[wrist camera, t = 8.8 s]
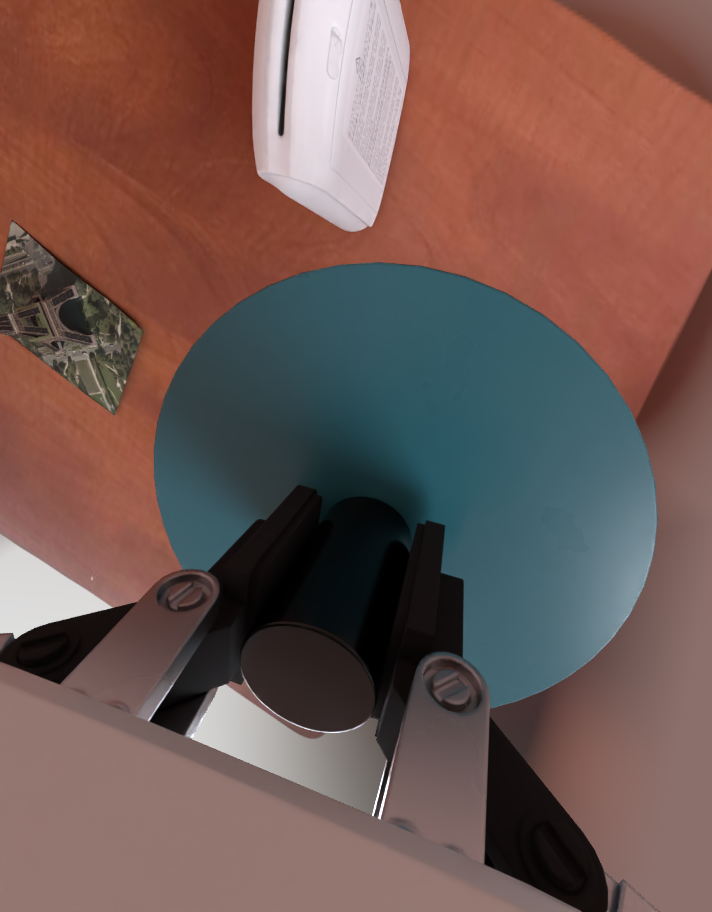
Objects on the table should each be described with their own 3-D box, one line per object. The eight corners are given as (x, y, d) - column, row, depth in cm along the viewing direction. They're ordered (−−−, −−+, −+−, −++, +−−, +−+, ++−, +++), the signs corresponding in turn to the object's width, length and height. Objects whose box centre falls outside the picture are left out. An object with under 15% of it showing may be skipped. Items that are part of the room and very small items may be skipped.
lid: (765, 324, 8) (1307, 373, 3) (531, 739, 15) (569, 1003, 9) (165, 226, 11) (-129, 156, 6) (180, 613, 17) (47, 760, 12)
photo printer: (351, 30, 23) (246, -212, 12) (420, 41, 23) (376, -203, 12) (319, 224, 28) (221, 176, 17) (377, 238, 27) (315, 197, 16)
